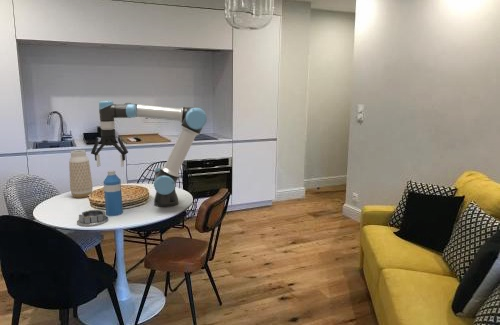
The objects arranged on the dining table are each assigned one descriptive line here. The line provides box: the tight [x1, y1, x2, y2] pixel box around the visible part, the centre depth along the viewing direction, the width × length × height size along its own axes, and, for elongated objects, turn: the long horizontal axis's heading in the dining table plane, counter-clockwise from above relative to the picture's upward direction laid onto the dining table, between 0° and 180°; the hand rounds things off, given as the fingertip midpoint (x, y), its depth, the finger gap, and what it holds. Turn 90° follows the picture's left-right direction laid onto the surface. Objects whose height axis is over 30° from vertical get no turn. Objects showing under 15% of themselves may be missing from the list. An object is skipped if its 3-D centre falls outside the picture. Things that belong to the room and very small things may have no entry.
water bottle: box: [103, 170, 124, 217], centre depth 229 cm, size 9×9×25 cm
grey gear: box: [76, 209, 109, 228], centre depth 217 cm, size 16×16×5 cm
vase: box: [68, 149, 94, 199], centre depth 265 cm, size 14×14×31 cm
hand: (110, 166), depth 226 cm, fingers open, 13 cm apart
